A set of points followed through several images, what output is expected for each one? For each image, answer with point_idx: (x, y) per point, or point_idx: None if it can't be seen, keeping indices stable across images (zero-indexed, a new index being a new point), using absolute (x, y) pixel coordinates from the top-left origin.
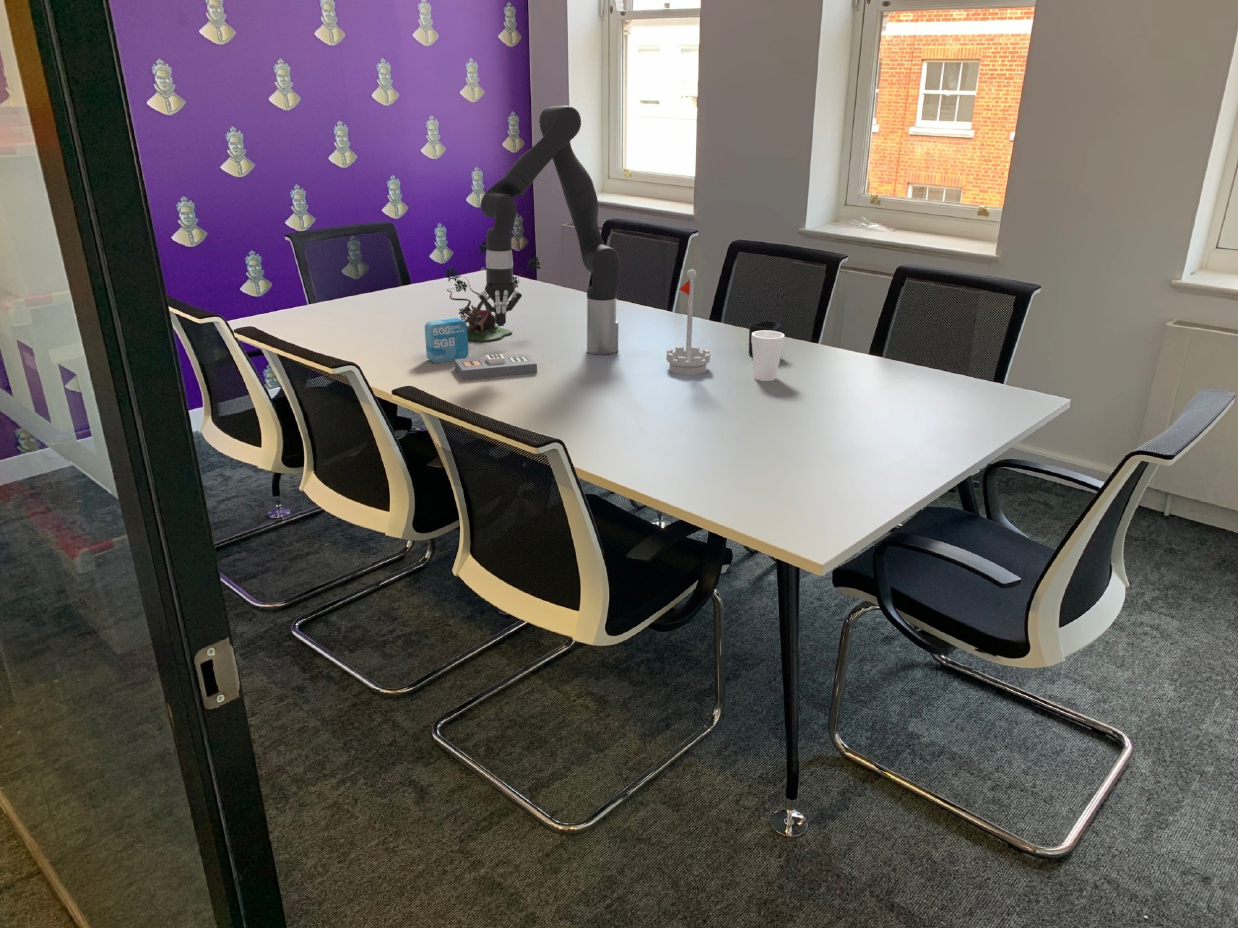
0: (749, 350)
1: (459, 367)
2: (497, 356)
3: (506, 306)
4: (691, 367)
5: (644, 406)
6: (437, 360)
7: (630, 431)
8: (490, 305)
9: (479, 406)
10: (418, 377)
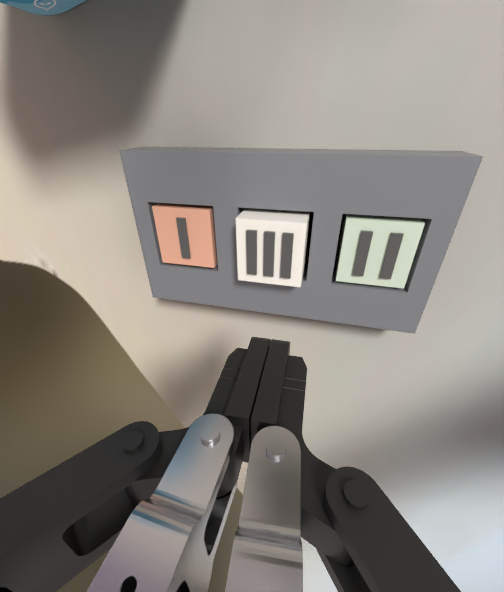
0: None
1: (145, 250)
2: (278, 257)
3: (318, 528)
4: None
5: (477, 547)
6: (58, 6)
7: None
8: (109, 539)
9: None
10: (47, 203)
